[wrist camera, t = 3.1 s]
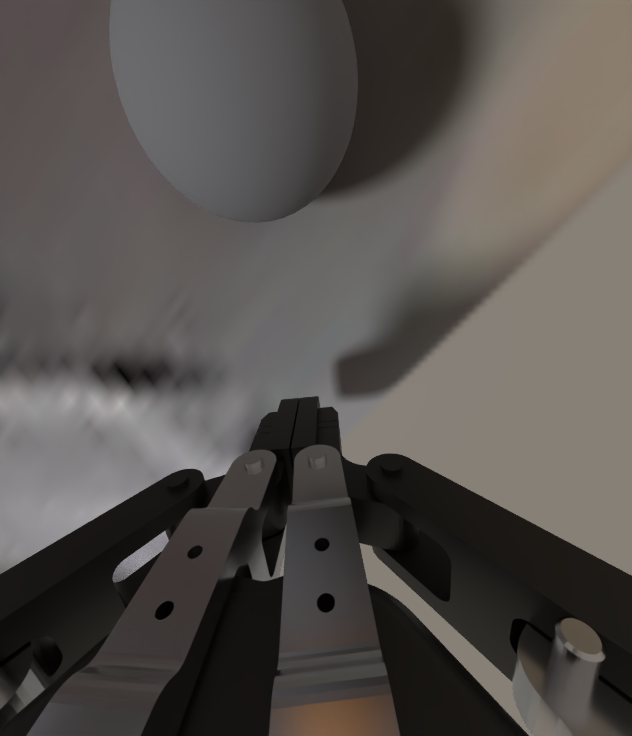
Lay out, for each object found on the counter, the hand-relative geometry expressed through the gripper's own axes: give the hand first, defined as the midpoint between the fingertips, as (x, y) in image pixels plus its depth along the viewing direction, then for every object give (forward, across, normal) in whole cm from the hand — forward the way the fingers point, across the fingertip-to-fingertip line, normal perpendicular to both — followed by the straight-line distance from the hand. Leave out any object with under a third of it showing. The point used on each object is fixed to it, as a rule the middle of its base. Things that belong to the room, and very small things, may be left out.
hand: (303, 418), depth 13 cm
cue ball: (-1, 0, -10) cm, 10 cm away
